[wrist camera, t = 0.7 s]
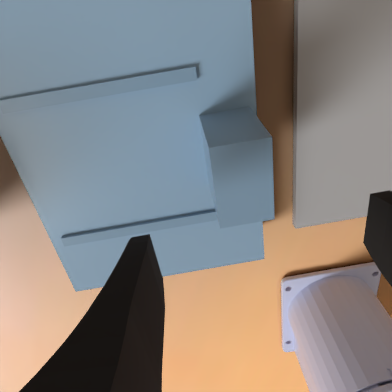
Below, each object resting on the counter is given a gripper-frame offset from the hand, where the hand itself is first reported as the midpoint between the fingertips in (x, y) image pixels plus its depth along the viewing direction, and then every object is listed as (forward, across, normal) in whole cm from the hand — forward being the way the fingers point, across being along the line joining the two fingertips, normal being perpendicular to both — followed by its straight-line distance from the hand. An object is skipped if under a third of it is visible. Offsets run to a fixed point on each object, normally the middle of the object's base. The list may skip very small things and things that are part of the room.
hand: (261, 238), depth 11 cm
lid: (+9, +4, 0) cm, 10 cm away
